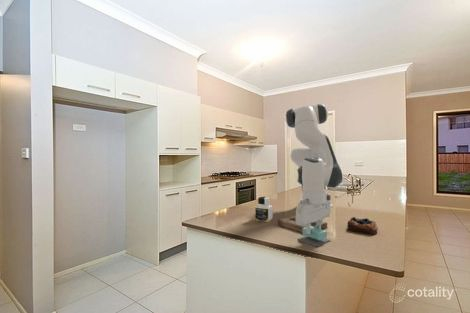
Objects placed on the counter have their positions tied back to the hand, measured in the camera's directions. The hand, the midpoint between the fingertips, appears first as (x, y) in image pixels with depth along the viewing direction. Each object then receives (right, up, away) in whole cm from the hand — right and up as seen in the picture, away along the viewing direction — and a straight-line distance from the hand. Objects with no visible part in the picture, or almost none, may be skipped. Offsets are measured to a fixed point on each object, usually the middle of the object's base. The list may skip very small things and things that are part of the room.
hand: (313, 231), depth 96 cm
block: (0, -2, 0) cm, 2 cm away
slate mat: (0, -4, 0) cm, 4 cm away
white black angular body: (-16, -4, +31) cm, 35 cm away
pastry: (+26, -4, +12) cm, 29 cm away
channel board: (0, -3, +18) cm, 19 cm away
